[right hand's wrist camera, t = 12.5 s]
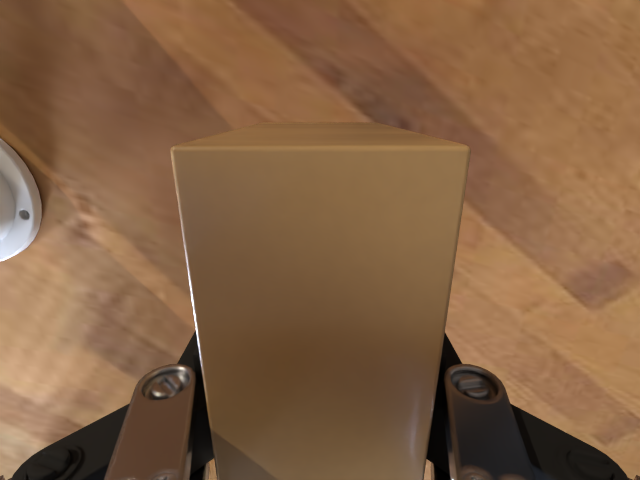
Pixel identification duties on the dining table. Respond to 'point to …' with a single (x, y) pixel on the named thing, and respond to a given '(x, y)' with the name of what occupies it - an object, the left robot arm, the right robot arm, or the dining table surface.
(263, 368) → the post
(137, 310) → the dining table surface
